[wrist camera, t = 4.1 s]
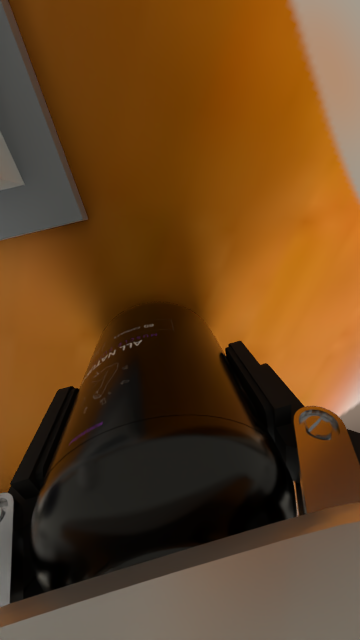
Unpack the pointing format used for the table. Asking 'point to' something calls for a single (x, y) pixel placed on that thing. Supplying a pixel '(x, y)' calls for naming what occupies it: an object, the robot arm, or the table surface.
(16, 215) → the rimmed tray
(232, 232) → the table surface
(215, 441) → the supplement bottle
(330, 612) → the robot arm
